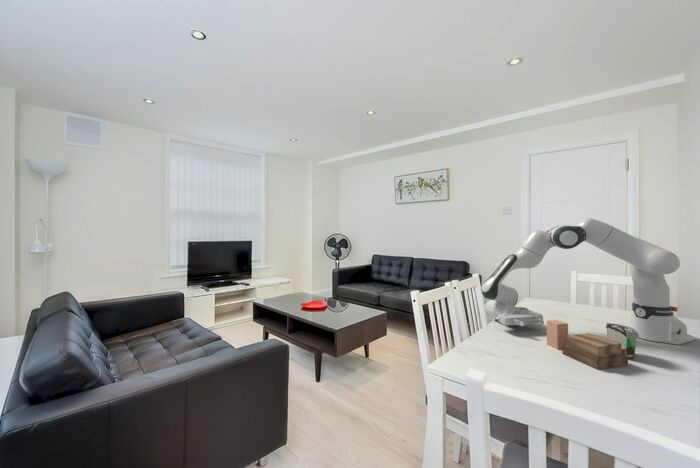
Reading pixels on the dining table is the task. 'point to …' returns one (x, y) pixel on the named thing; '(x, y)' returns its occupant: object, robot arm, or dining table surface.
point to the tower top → (594, 345)
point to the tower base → (596, 359)
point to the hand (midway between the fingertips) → (533, 323)
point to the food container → (623, 338)
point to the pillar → (557, 333)
